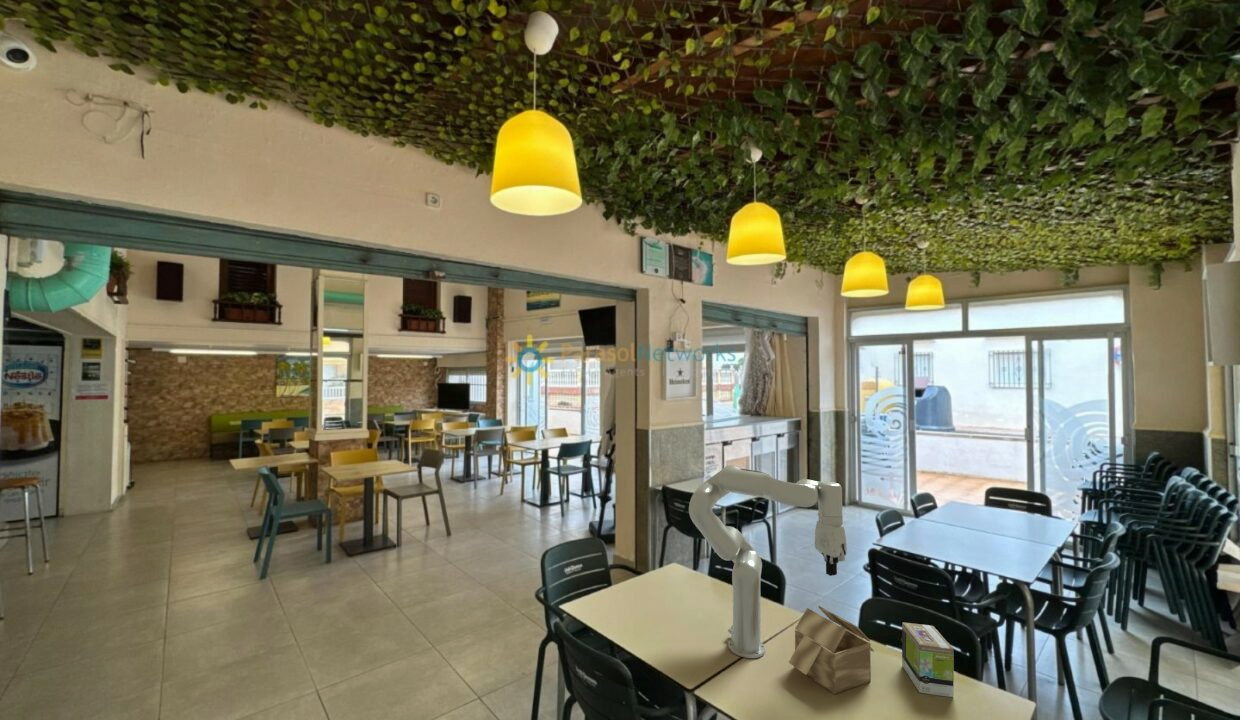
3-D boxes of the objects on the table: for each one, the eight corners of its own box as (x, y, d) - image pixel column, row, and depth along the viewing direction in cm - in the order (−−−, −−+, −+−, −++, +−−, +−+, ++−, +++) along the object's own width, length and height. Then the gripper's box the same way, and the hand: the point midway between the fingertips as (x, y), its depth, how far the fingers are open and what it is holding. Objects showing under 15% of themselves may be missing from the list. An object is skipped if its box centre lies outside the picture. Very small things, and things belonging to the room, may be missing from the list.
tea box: (955, 698, 148) (954, 648, 148) (918, 693, 150) (918, 644, 150) (934, 669, 163) (933, 624, 163) (900, 665, 165) (900, 620, 165)
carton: (795, 666, 163) (795, 629, 164) (829, 655, 170) (829, 620, 170) (834, 694, 149) (834, 654, 149) (870, 681, 155) (870, 643, 156)
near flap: (846, 630, 152) (845, 629, 152) (816, 683, 146) (816, 682, 146) (808, 608, 166) (807, 607, 166) (779, 656, 160) (779, 655, 160)
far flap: (818, 607, 168) (818, 605, 168) (845, 635, 173) (845, 634, 173) (856, 628, 154) (857, 626, 154) (885, 658, 159) (885, 657, 159)
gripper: (805, 515, 171) (806, 568, 171) (839, 526, 157) (840, 584, 157) (822, 512, 174) (823, 565, 173) (856, 524, 160) (858, 581, 160)
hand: (831, 574), depth 165 cm, fingers closed
